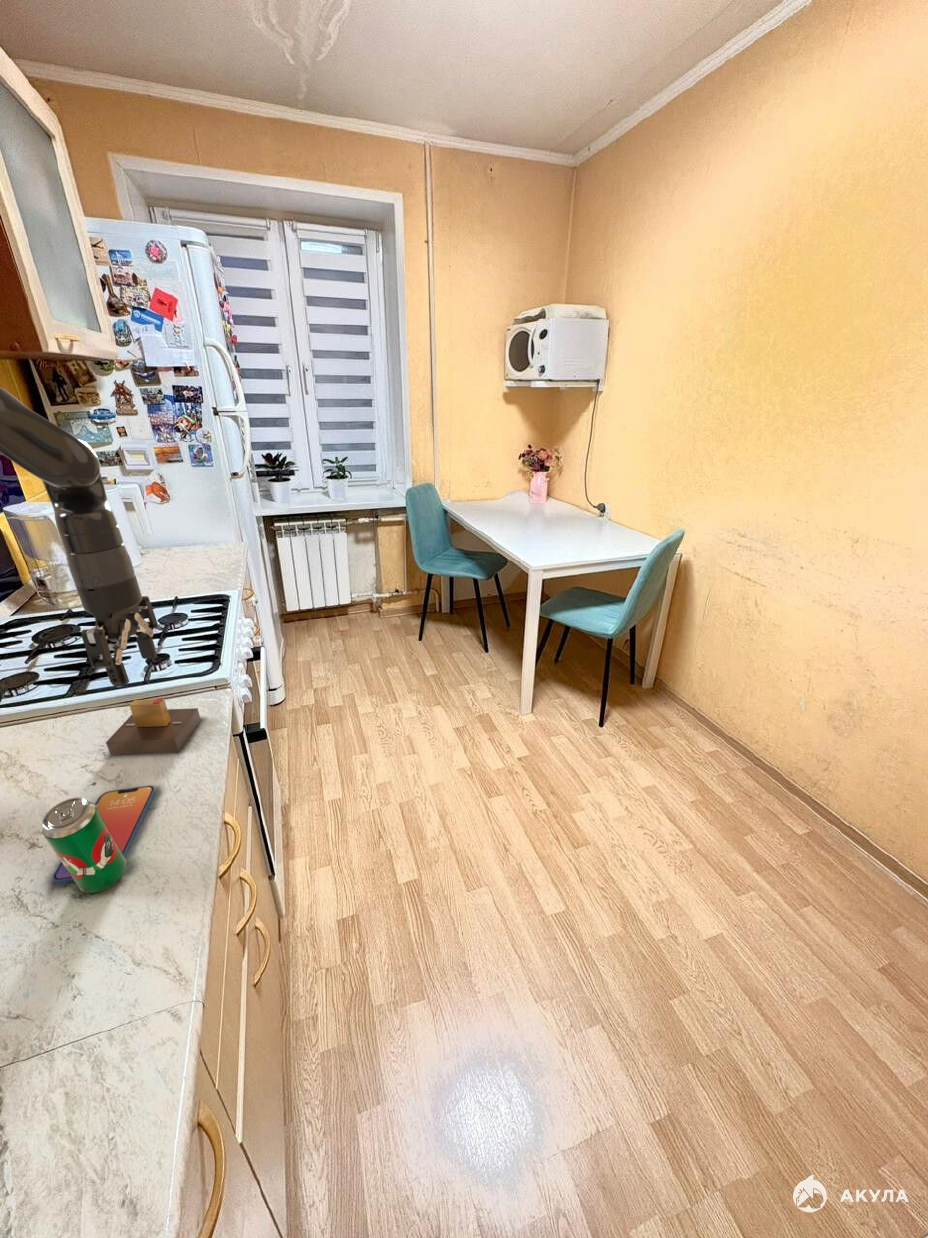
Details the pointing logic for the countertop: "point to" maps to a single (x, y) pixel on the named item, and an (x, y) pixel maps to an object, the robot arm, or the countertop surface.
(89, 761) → the countertop surface
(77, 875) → the soda can
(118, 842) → the smartphone
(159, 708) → the lock knob
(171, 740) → the plate
